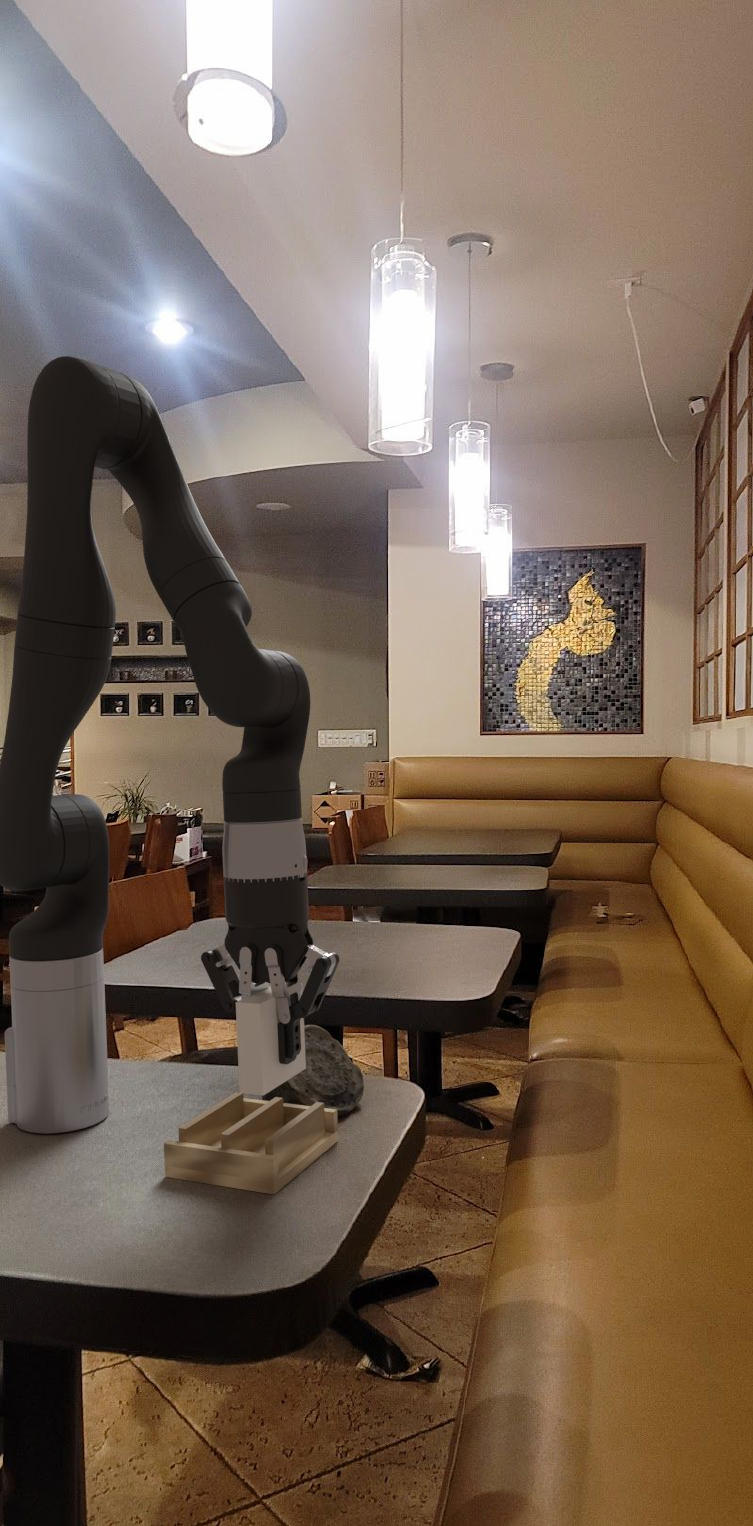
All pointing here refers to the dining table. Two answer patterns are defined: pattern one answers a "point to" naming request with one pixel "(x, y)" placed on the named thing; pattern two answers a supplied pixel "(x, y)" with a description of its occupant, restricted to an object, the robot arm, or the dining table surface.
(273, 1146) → the rack
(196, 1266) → the dining table surface
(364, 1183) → the dining table surface
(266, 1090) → the upright cream slab
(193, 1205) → the dining table surface
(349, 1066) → the fossil
